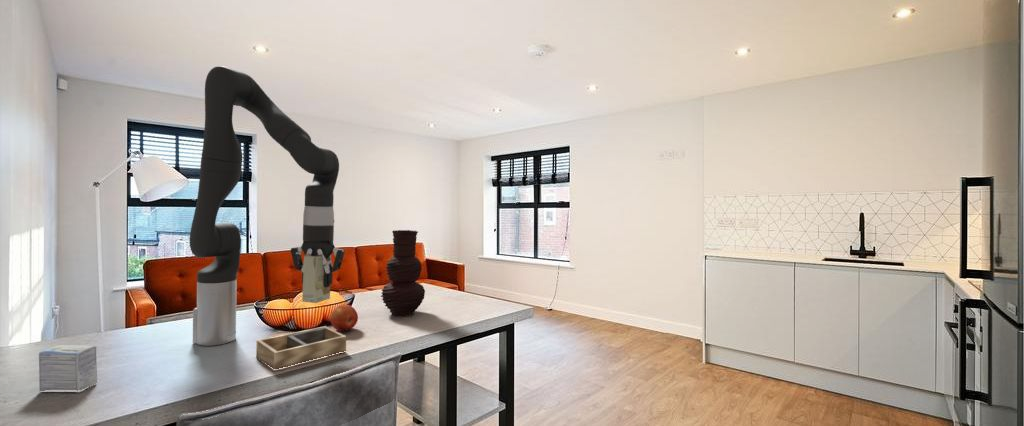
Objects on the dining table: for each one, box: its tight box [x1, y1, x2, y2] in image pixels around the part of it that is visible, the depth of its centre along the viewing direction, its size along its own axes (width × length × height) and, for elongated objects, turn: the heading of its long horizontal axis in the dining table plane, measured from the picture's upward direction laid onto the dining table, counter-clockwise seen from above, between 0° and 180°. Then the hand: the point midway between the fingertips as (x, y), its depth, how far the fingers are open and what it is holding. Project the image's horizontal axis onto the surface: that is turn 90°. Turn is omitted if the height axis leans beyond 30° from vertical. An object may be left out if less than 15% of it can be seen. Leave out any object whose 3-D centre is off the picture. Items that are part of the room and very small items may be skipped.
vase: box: [380, 229, 426, 318], centre depth 156 cm, size 15×15×30 cm
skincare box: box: [301, 254, 332, 304], centre depth 116 cm, size 6×4×12 cm
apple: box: [329, 304, 359, 332], centre depth 135 cm, size 8×8×8 cm
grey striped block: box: [38, 344, 98, 392], centre depth 91 cm, size 8×4×9 cm, turn 92°
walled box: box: [255, 325, 347, 369], centre depth 114 cm, size 18×12×4 cm, turn 139°
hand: (317, 286), depth 116 cm, fingers closed on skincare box, 5 cm apart
